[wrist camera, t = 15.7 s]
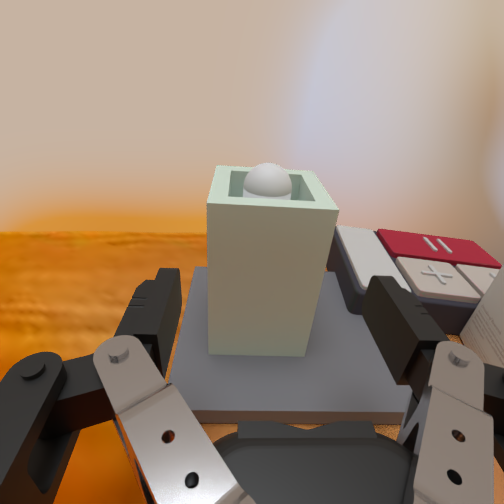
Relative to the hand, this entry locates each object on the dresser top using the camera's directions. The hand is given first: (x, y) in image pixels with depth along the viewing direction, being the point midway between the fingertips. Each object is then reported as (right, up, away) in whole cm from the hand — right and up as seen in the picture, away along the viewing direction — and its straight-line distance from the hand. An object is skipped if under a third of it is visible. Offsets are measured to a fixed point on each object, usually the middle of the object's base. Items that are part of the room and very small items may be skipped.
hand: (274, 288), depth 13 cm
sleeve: (-1, -3, +9) cm, 9 cm away
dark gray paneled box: (+14, -2, +16) cm, 21 cm away
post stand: (+1, -4, +9) cm, 10 cm away
